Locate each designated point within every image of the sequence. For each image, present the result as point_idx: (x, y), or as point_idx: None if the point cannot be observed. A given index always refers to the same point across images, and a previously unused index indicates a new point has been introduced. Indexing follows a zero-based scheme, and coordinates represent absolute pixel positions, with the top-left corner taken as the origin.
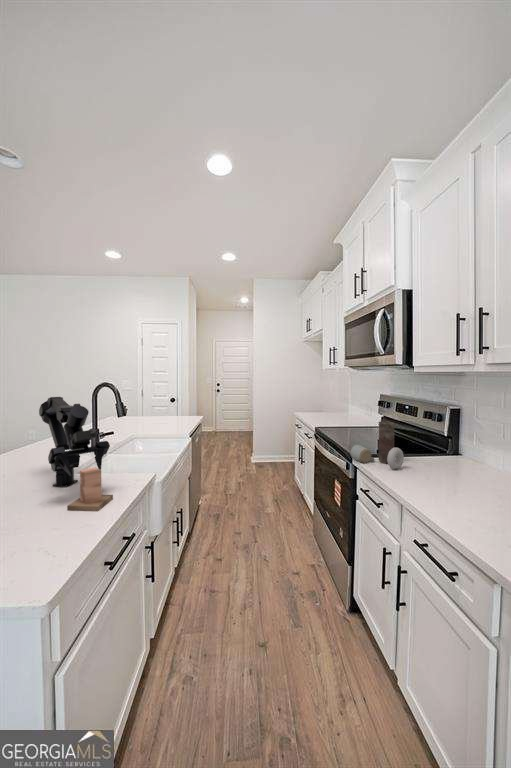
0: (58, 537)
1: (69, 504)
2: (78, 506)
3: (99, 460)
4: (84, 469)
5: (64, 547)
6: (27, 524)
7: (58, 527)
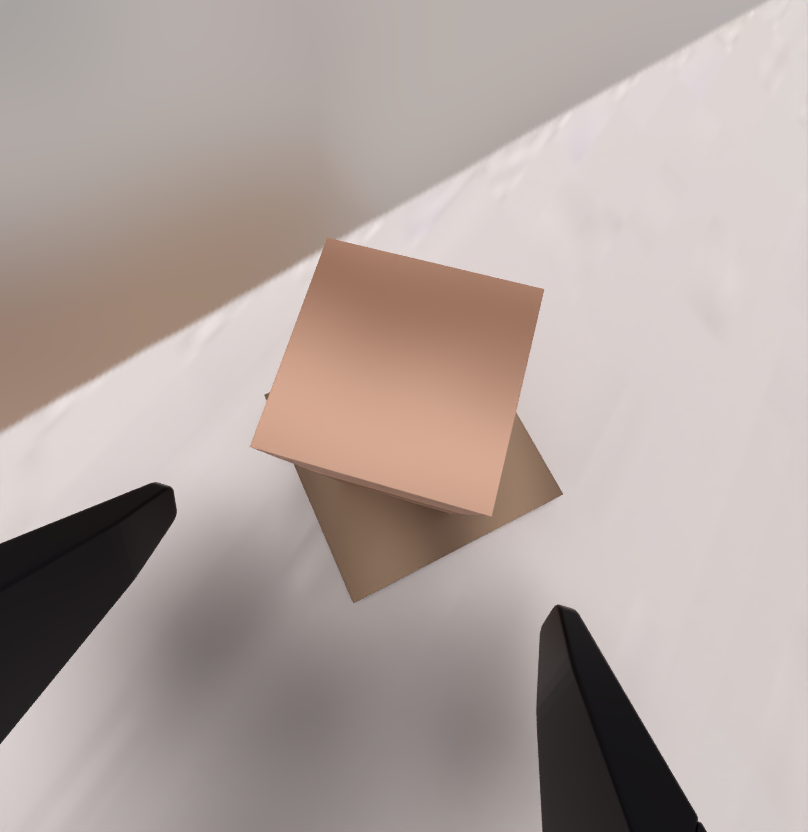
0: (740, 220)
1: (540, 503)
2: (519, 421)
3: (16, 569)
4: (419, 496)
5: (758, 124)
6: (802, 509)
7: (695, 317)
